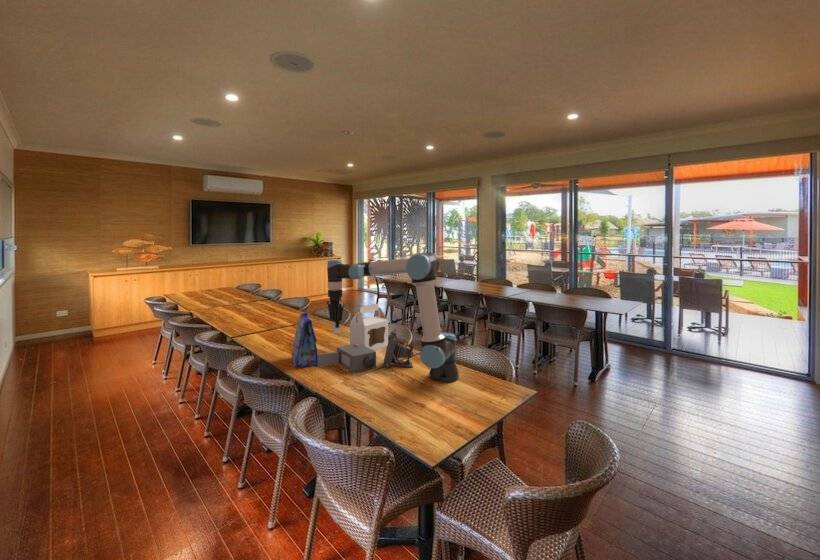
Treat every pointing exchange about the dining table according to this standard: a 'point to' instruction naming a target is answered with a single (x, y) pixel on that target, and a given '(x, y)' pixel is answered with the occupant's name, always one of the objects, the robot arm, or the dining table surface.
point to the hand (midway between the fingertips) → (336, 333)
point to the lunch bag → (304, 343)
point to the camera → (397, 352)
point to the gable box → (369, 328)
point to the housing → (357, 357)
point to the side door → (328, 358)
